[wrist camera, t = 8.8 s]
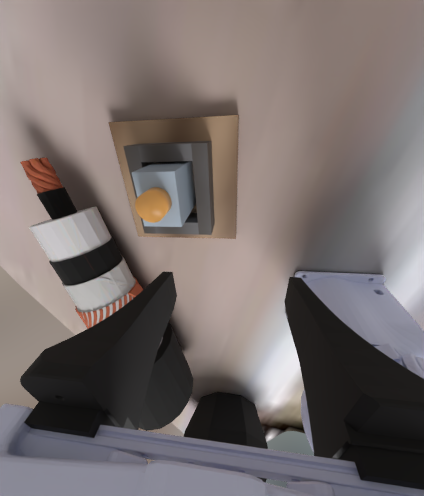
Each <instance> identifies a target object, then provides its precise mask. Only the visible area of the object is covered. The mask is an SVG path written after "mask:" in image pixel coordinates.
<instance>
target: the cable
mask: <svg viewBox="0 0 424 496" xmlns="http://www.w3.org/2000/svg"><path fill="white" fill-rule="evenodd" d="M21 164H22V166H23V168H24V170H25V172H26V175H27V177H28V178H29V179H30V180H31V182H32V185H33V186H34V188H35V189H36V191H37V193H38V194H37V196H38V197H39V199H40V200H41V202H42V204H43V205H44V207H45V209H46V210H47V212H48V214H49V215H50V217H51V218H52V219H50V220H47V221H44V222H41V223H38V224H35V225H33V226H31V227H29V228H30V230H31V231H32V233H33V234H34V236H35V238H36V239H37V241H38V242H39V244H40V245H41V247H42V248H43V250H44V251H45V253H46V255H47V256H48V258H49V259H50V264H51V265H52V267H53V268H54V270H55V271H56V273H57V274H58V276H59V277H60V279H61V281H62V284H63V286H64V287H65V289H66V291H67V292H68V294H69V295H70V297H71V298H72V300H73V302H74V303H75V305H76V306H75V307H76V312H77V313H78V315H79V316H80V318H81V319H82V320H83V322H84V323H85V325H86V327H87V328H88V329H89V328H90V327H92V326H94V325H96V324H97V323H99V322H101V321H102V320H104V319H105V318H107V317H109V316H110V315H112V314H113V313H115V312H116V311H118V310H119V309H120V308H122V307H123V306H124V305H126V304H127V303H128V302H130V301H131V300H132V299H133V298H134V297H136V296H137V295H138V294H139V293H141V292H142V291H143V288H142V287H141V286H140V285H139V284H138V281H137V279H136V278H134V277H133V276H132V274H131V272H130V270H129V268H128V266H127V264H126V262H125V260H124V257H123V256H121V254H120V252H119V250H118V248H117V246H116V244H115V241H114V239H113V237H112V236H110V234H109V232H108V229H107V227H106V225H105V223H104V221H103V219H102V217H101V215H100V213H99V211H98V209H97V207H91V208H87V209H83V210H80V211H77V210H76V208H75V207H74V205H73V203H72V201H71V199H70V197H69V195H68V193H67V191H66V189H65V187H64V188H63V186H62V185H61V182H60V180H59V178H58V177H57V175H56V173H55V170H54V168H53V167H52V166H51V164H50V163H49V161H48V159H47V158H40V159H38V158H35V159H30V160H29V161H22V162H21ZM192 387H193V377H192V374H191V371H190V368H189V366H188V363H187V361H186V359H185V357H184V354H183V352H182V350H181V348H180V345H179V343H178V341H177V338H176V336H175V334H174V332H173V329H172V327H171V325H170V324H169V323H168V325H167V327H166V330H165V332H164V335H163V337H162V340H161V342H160V345H159V348H158V351H157V355H156V358H155V362H154V365H153V369H152V373H151V376H150V380H149V384H148V388H147V392H146V397H145V401H144V405H143V410H142V414H141V419H140V423H139V428H141V429H144V430H146V431H147V430H154V429H160V428H162V427H164V426H166V425H167V424H169V423H171V422H172V421H173V420H174V419H175V418H176V417H178V416H179V415H180V414H181V412H182V411H183V409H184V408H185V406H186V405H187V403H188V401H189V399H190V396H191V393H192Z"/></svg>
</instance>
